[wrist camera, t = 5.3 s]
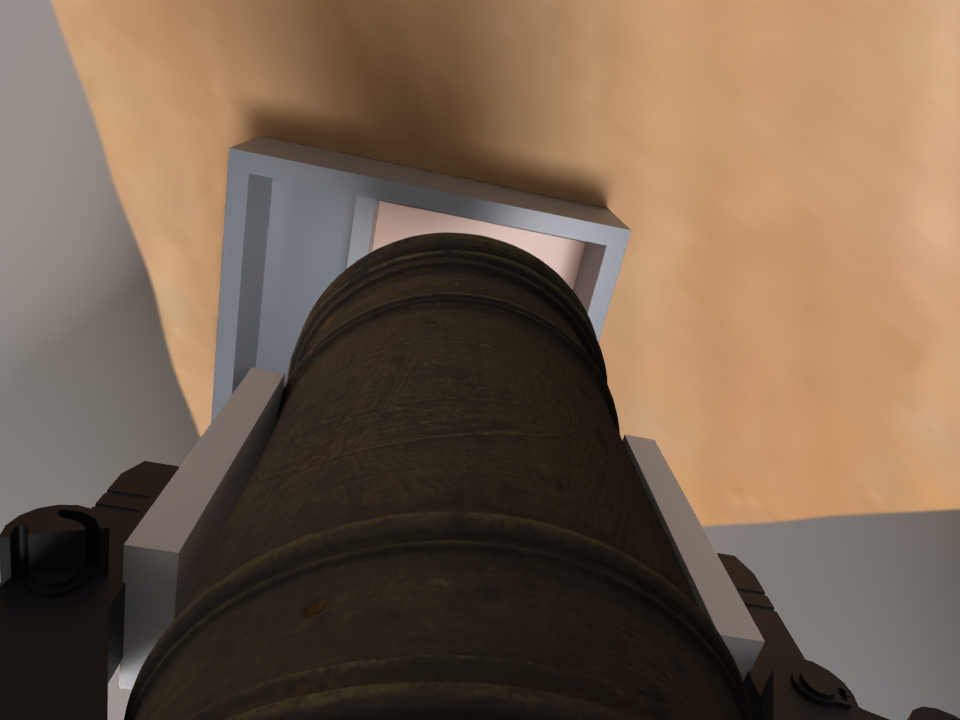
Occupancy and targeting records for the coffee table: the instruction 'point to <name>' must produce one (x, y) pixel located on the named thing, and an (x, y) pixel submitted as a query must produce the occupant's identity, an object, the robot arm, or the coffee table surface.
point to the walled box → (371, 240)
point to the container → (443, 523)
